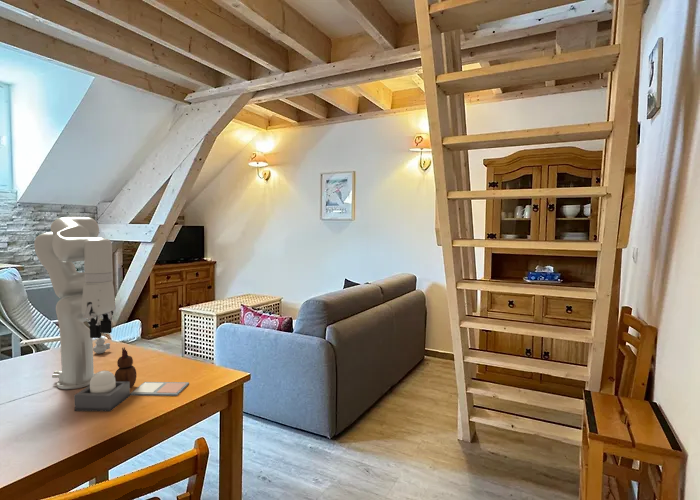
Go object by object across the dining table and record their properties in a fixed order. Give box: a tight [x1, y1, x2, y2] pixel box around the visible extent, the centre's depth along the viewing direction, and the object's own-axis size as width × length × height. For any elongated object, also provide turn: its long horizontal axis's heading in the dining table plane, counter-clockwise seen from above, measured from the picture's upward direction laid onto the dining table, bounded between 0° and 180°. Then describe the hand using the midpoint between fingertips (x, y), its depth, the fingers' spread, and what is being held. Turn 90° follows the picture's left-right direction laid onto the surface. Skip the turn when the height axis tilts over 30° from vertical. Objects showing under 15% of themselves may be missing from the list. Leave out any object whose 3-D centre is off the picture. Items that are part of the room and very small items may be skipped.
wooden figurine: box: [114, 347, 137, 389], centre depth 142 cm, size 7×6×15 cm
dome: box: [89, 370, 116, 393], centre depth 130 cm, size 7×7×7 cm
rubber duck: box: [93, 337, 111, 355], centre depth 179 cm, size 5×7×8 cm
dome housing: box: [73, 381, 131, 412], centre depth 130 cm, size 11×11×5 cm
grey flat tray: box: [130, 381, 190, 397], centre depth 141 cm, size 16×10×1 cm, turn 89°
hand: (101, 334), depth 129 cm, fingers open, 4 cm apart
